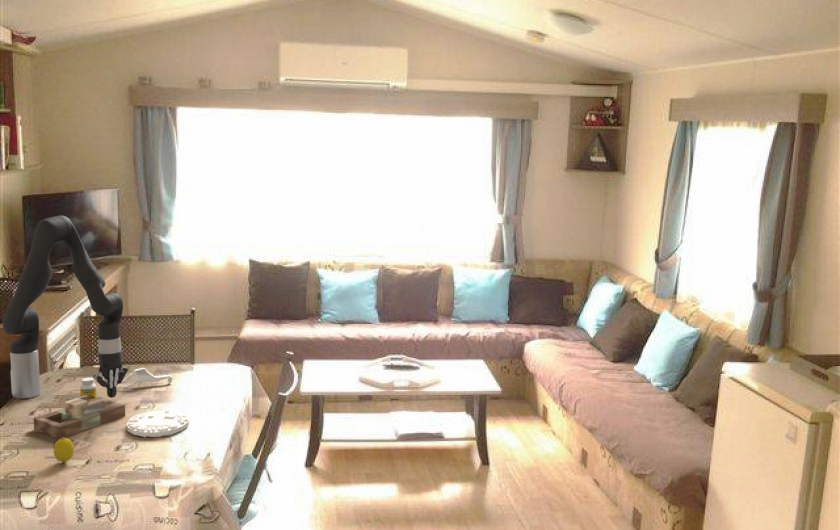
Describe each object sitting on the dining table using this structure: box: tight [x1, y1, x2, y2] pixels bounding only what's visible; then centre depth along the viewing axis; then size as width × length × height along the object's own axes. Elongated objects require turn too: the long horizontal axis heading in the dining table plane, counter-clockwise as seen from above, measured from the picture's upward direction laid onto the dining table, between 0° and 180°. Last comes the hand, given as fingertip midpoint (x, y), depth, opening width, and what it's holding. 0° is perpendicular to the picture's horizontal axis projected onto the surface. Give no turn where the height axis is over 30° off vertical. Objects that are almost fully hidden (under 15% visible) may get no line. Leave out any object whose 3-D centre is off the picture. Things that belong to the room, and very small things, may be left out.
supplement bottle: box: [79, 377, 98, 400], centre depth 273 cm, size 5×5×10 cm
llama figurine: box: [120, 367, 173, 389], centre depth 295 cm, size 2×11×18 cm
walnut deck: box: [33, 395, 126, 440], centre depth 256 cm, size 14×25×7 cm, turn 149°
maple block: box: [64, 397, 88, 417], centre depth 254 cm, size 5×5×4 cm
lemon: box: [53, 437, 75, 464], centre depth 225 cm, size 6×6×8 cm
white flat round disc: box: [126, 409, 190, 439], centre depth 255 cm, size 20×20×3 cm
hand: (111, 396), depth 266 cm, fingers closed
